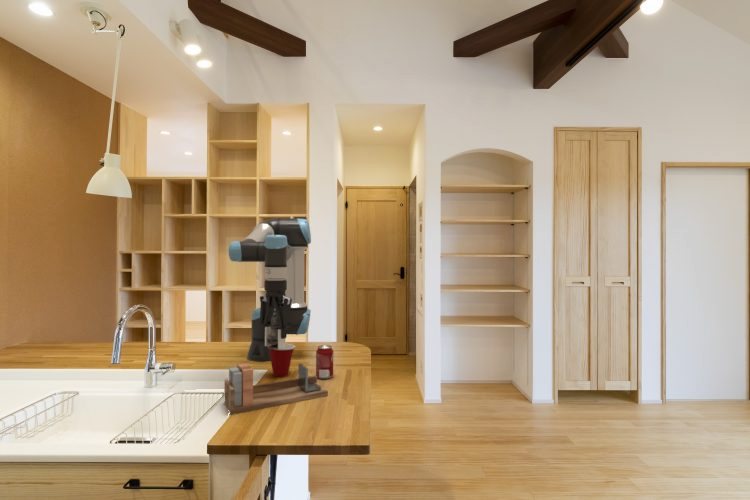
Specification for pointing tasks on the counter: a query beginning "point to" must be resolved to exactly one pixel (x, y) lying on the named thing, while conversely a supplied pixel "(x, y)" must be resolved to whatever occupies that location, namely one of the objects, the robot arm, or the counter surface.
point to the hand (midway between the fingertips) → (275, 346)
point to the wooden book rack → (262, 391)
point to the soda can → (324, 362)
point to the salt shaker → (273, 333)
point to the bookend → (305, 380)
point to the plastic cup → (281, 360)
